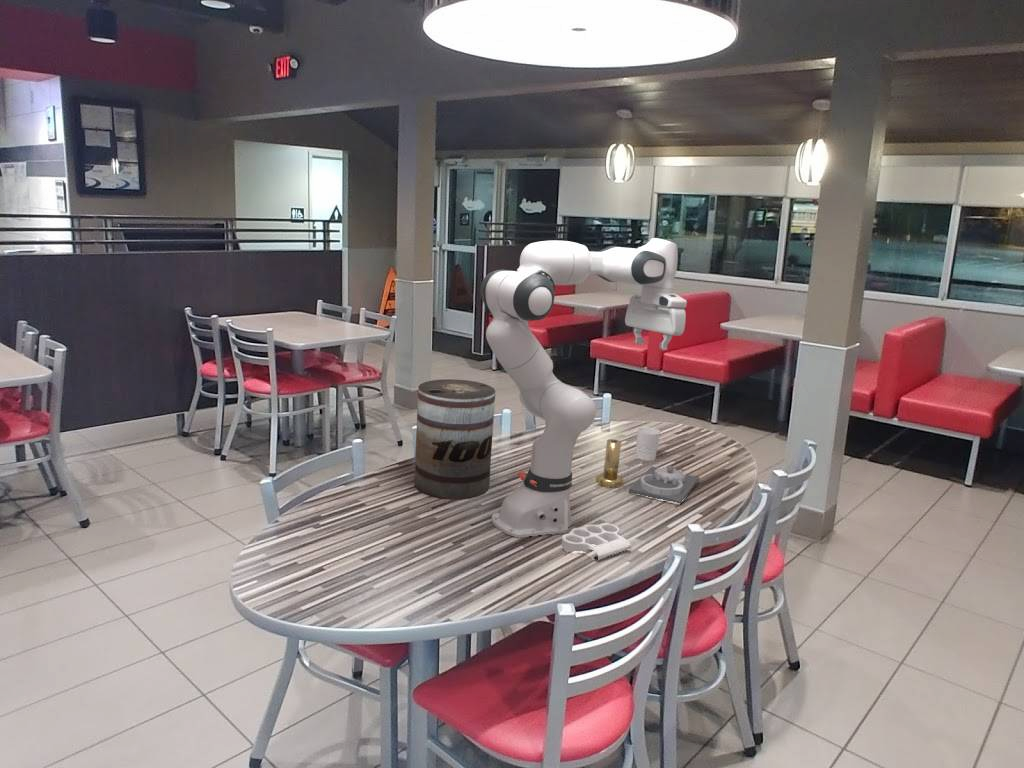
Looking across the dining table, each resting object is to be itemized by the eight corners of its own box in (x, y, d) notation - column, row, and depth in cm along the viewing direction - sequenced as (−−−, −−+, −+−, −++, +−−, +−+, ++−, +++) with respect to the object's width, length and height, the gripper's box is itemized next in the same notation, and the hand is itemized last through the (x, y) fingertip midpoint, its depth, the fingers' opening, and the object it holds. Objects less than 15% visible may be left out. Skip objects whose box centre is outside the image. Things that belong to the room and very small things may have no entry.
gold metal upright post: (607, 490, 232) (611, 446, 229) (590, 480, 239) (594, 438, 236) (628, 486, 237) (633, 443, 233) (611, 477, 244) (616, 435, 240)
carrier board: (679, 505, 225) (682, 488, 223) (628, 493, 231) (630, 476, 230) (698, 481, 246) (700, 465, 244) (651, 470, 252) (653, 455, 251)
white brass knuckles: (588, 567, 184) (549, 543, 195) (639, 550, 195) (599, 528, 206) (589, 554, 183) (550, 531, 194) (640, 538, 194) (600, 517, 205)
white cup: (631, 458, 263) (634, 430, 261) (638, 452, 270) (641, 425, 268) (653, 463, 260) (656, 435, 257) (659, 457, 267) (663, 430, 264)
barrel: (465, 506, 213) (471, 404, 206) (399, 487, 223) (402, 389, 215) (502, 482, 233) (508, 388, 225) (440, 466, 242) (444, 375, 235)
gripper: (623, 293, 217) (617, 341, 220) (675, 301, 201) (668, 352, 203) (639, 294, 221) (633, 341, 223) (691, 302, 204) (685, 352, 207)
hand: (650, 346), depth 213 cm, fingers open, 8 cm apart
